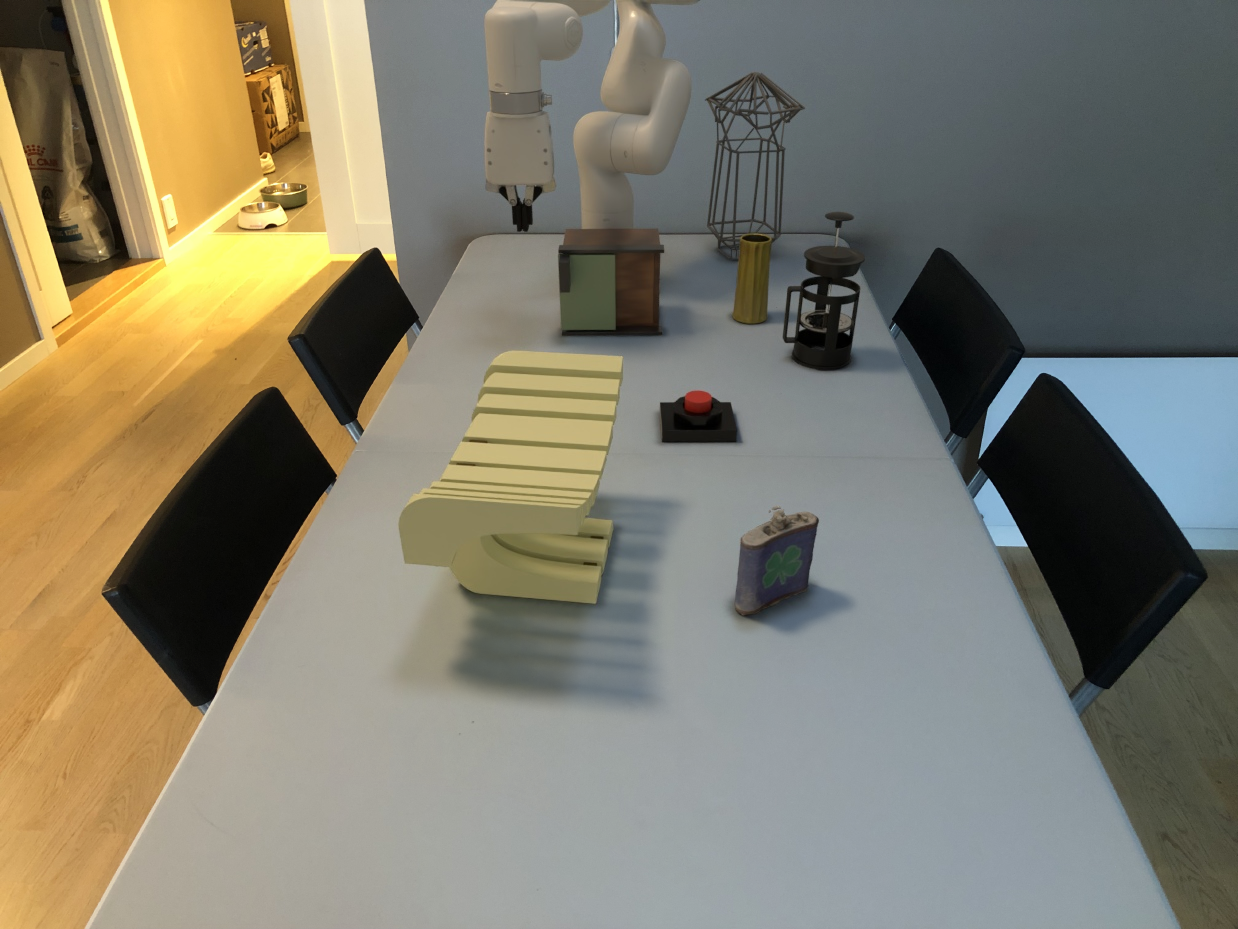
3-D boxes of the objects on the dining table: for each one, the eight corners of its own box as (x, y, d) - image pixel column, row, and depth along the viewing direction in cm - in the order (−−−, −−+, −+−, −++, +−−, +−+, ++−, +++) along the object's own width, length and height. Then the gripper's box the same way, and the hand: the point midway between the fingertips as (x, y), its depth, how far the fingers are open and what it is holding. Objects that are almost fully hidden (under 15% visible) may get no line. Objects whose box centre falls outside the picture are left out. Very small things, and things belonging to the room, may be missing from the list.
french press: (847, 345, 142) (868, 204, 130) (862, 370, 134) (885, 222, 122) (776, 345, 142) (790, 205, 130) (786, 370, 134) (802, 223, 122)
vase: (769, 324, 150) (776, 243, 142) (733, 324, 150) (739, 243, 142) (764, 311, 155) (771, 232, 147) (730, 310, 155) (735, 232, 148)
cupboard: (561, 335, 146) (558, 249, 138) (565, 307, 157) (562, 226, 149) (662, 335, 146) (664, 249, 138) (659, 307, 157) (661, 225, 149)
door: (559, 338, 143) (556, 262, 136) (561, 328, 147) (558, 253, 140) (615, 338, 143) (614, 262, 136) (615, 328, 147) (615, 253, 140)
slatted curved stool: (497, 479, 109) (485, 348, 99) (623, 488, 107) (622, 356, 97) (419, 647, 83) (392, 494, 74) (582, 663, 82) (576, 508, 72)
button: (685, 414, 116) (685, 402, 115) (683, 401, 119) (684, 390, 118) (712, 414, 116) (712, 402, 115) (709, 401, 119) (710, 390, 118)
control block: (661, 442, 116) (662, 419, 114) (659, 413, 123) (660, 391, 121) (736, 442, 116) (738, 419, 114) (730, 413, 123) (731, 391, 121)
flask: (743, 619, 86) (752, 533, 81) (726, 603, 89) (733, 517, 83) (814, 589, 90) (827, 504, 85) (795, 573, 93) (806, 490, 87)
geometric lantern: (695, 244, 187) (703, 68, 169) (763, 238, 190) (778, 65, 172) (719, 268, 174) (731, 80, 156) (792, 261, 177) (812, 76, 159)
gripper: (569, 99, 128) (572, 222, 138) (468, 98, 128) (478, 222, 138) (566, 107, 122) (570, 236, 132) (460, 107, 122) (471, 236, 132)
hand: (523, 229), depth 135 cm, fingers closed
